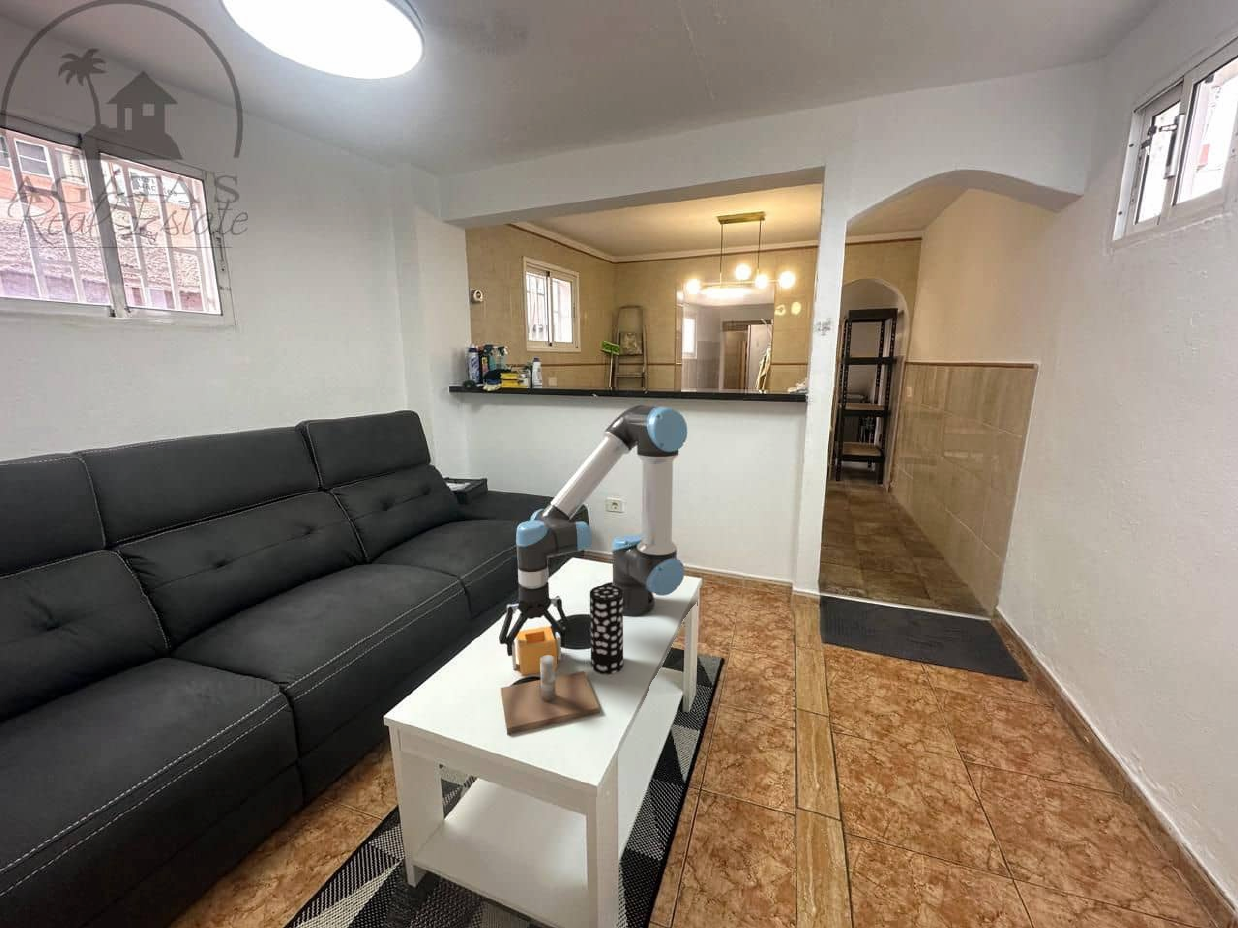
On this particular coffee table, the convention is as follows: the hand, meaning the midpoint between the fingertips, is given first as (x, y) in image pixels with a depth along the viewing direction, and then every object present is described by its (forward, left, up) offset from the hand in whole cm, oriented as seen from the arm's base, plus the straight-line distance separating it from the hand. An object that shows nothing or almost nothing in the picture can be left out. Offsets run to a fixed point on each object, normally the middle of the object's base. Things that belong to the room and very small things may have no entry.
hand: (536, 661), depth 127 cm
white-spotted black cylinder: (-17, +7, 0) cm, 18 cm away
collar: (0, 0, 0) cm, 0 cm away
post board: (0, +17, 0) cm, 17 cm away
